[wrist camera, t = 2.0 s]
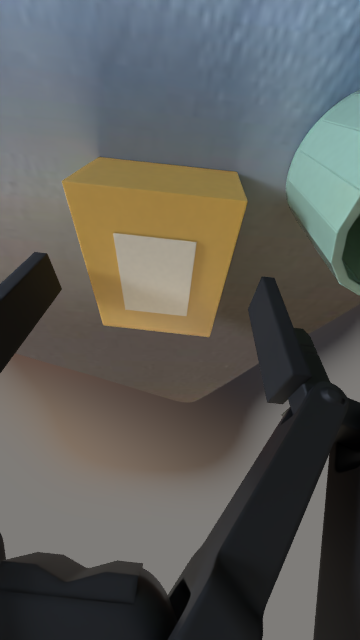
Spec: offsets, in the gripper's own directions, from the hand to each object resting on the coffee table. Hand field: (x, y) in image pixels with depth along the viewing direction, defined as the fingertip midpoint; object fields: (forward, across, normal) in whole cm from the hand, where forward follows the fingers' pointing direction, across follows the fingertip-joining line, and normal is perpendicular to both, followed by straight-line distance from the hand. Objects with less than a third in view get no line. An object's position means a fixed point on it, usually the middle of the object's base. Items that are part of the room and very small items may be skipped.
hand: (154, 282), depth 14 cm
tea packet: (+5, 0, 0) cm, 5 cm away
